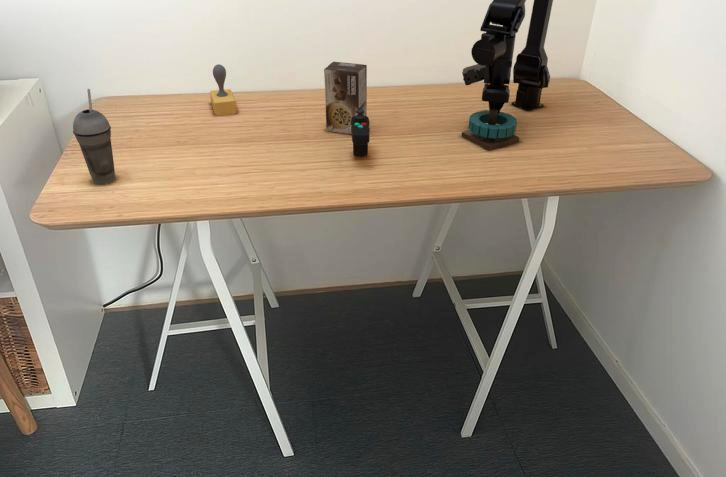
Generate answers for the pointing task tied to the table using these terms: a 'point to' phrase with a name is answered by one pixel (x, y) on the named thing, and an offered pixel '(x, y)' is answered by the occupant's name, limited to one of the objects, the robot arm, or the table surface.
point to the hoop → (492, 131)
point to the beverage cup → (95, 144)
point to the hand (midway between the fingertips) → (492, 117)
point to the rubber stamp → (222, 94)
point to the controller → (360, 133)
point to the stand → (490, 142)
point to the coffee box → (344, 94)
